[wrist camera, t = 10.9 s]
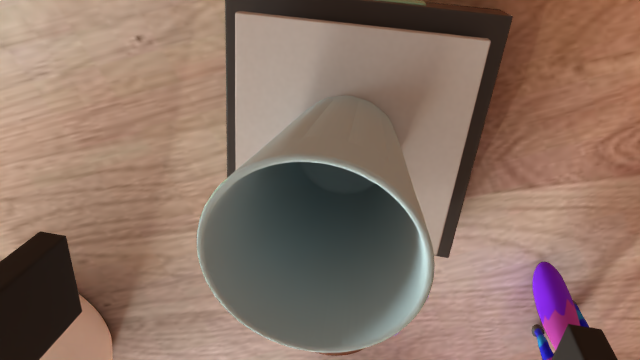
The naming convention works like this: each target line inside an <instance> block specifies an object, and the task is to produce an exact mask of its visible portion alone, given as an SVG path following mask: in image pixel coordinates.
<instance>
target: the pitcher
mask: <svg viewBox="0 0 640 360" xmlns="http://www.w3.org/2000/svg"><path fill="white" fill-rule="evenodd" d="M79 299H80V303H81V308H82V313H81V314H80V315H79V316H78V317H77V318H76V319H75V320H74V322H73V323H72V324H71V325H70V326H69V327H68V328H67V329H66V330H65V332H64V333H63V334H62V335H61V336H60V337H59V338H58V339H57V340H56V342H55V343H54V344H53V345H52V346H51V347H50V348H49V349H48V351H47V352H46V353H45V354H44V355H43V356H42V357H41V358H40V359H39V360H112V358H113V356H112V339H111V334H110V332H109V329H108V327H107V325H106V323H105V321H104V320H103V318H102V317H101V315H100V314H99V313H98V311H97V310H96V309H95V308H94V307H93V306H92V305H91V304H90V303H89V302H88V301H87V300H86V299H85V298H83V297H82V296H81V295H79Z"/></svg>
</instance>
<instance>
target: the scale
mask: <svg viewBox="0 0 640 360" xmlns="http://www.w3.org/2000/svg"><path fill="white" fill-rule="evenodd" d="M512 18H513V16H511V15H509V14H507V13H505V12H503V11H501V10H497V9H487V8H478V7H468V6H459V5H449V4H439V3H430V2H424V1H420V0H225V29H226V117H227V178H228V177H229V176H230V175H231V174H232V173H233V172H235V171H236V170H237V169H238V168H239V167H240V166H242V165H243V164H244V163H245V162H246V161H247V160H249V159H250V158H251V157H252V156H254V155H255V154H256V153H257V152H258V151H260V150H261V149H262V148H263V147H264V146H265V145H266V144H268V143H269V142H270V141H271V140H272V139H273V138H275V137H276V136H277V135H278V134H279V133H280V132H281V131H283V130H284V129H285V128H286V127H287V126H288V125H290V124H291V123H292V122H293V121H294V120H295V119H297V118H298V117H299V116H300V115H301V114H302V113H304V112H305V111H306V110H307V109H309V108H310V107H312V106H314V105H315V104H316V103H318V102H319V101H321V100H323V99H325V98H329V97H336V96H343V95H348V96H354V97H357V98H360V99H364V100H367V101H369V102H371V103H373V104H374V105H376V106H377V107H378V108H379V109H380V110H381V111H382V112H383V113H385V114H386V115H387V117H388V118H389V119H390V121H391V123H392V125H393V128H394V131H395V133H396V135H397V138H398V141H399V144H400V147H401V150H402V153H403V156H404V159H405V162H406V166H407V169H408V172H409V175H410V178H411V181H412V184H413V188H414V191H415V194H416V197H417V200H418V202H419V205H420V208H421V211H422V214H423V217H424V220H425V223H426V226H427V229H428V232H429V235H430V238H431V242H432V247H433V252H434V256H440V257H446V258H448V257H449V254H450V250H451V246H452V243H453V239H454V235H455V231H456V228H457V224H458V220H459V216H460V213H461V209H462V205H463V201H464V198H465V194H466V190H467V186H468V183H469V179H470V175H471V171H472V168H473V164H474V160H475V156H476V153H477V149H478V145H479V141H480V138H481V134H482V130H483V127H484V123H485V119H486V115H487V112H488V108H489V104H490V100H491V97H492V93H493V89H494V85H495V82H496V78H497V74H498V70H499V67H500V63H501V59H502V55H503V52H504V48H505V44H506V40H507V37H508V33H509V29H510V25H511V22H512Z"/></svg>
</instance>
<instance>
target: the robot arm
mask: <svg viewBox="0 0 640 360" xmlns="http://www.w3.org/2000/svg"><path fill="white" fill-rule="evenodd" d="M81 313H82V308H81V303H80V299H79V294H78V289H77V285H76V280H75V276H74V271H73V267H72V262H71V258H70V253H69V249H68V244H67V239H66V236H63V235H57V234H51V233H45V232H39V233H37V234H36V235H35V236H34V237H32V238H31V239H30V240H28V241H27V242H26V243H24V244H23V245H22V246H20V247H19V248H18V249H17V250H15V251H14V252H13V253H11V254H10V255H9V256H7V257H6V258H5V259H3V260H2V261H1V262H0V360H39V359H40V358H41V357H42V356H43V355H44V354H45V353H46V352H47V351H48V349H49V348H50V347H51V346H52V345H53V344H54V343H55V342H56V340H57V339H58V338H59V337H60V336H61V335H62V334H63V333H64V332H65V330H66V329H67V328H68V327H69V326H70V325H71V324H72V323H73V322H74V320H75V319H76V318H77V317H78V316H79V315H80V314H81ZM552 360H617V358H616V356H615V354H614V352H613V350H612V348H611V346H610V345H609V343H608V341H607V339H606V337H605V335H604V333H603V331H602V330H601V329H595V328H589V327H584V326H578V325H572V324H568V325H567V327H566V330H565V332H564V334H563V336H562V338H561V340H560V342H559V345H558V347H557V349H556V351H555V353H554V355H553V357H552Z"/></svg>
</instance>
